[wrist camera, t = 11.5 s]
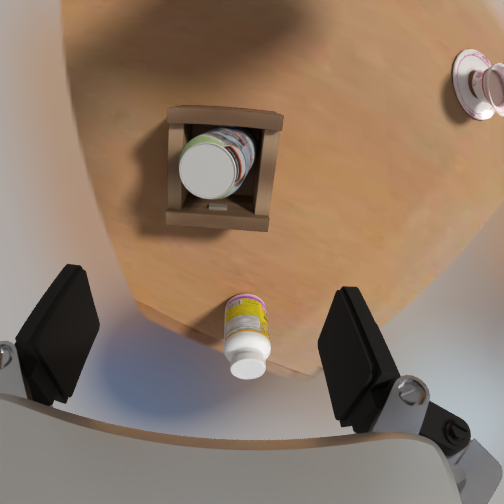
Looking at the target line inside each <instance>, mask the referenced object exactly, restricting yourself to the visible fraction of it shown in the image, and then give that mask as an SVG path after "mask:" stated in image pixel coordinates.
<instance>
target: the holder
mask: <svg viewBox="0 0 504 504" xmlns="http://www.w3.org/2000/svg"><path fill="white" fill-rule="evenodd" d="M283 118H284V116H283V115H281V114H278V113H276V112H273V111H265V110H256V109H245V108H233V107H219V106H197V105H181V106H176V107H171V108H168V111H167V123H169V138H168V180H167V201H168V209H167V210H166V225H176V226H191V227H206V228H220V229H234V230H247V231H260V232H268V226H269V209H270V202H271V195H272V188H273V180H274V173H275V166H276V159H277V151H278V144H279V137H280V131H282V126H283ZM219 126H222V127H235V126H240V127H247V128H248V129H250V130H251V131H252V133H253V134H254V135H255V137H256V139H257V143H258V154H257V157H256V159H255V161H254V163H253V165H252V166H251V168H250V170H249V172H248V173H247V175H246V177H245V179H244V180H243V182H242V184H241V186H240V187H239V188H238V189H237V190H236V191H235V192H234V193H233V194H231V195H229V196H227V197H225V198H222V199H205V198H201V197H198V196H196V195H194V194H192V193H191V192H190V191H189V190H188V189H187V188H186V187H185V186H184V184H183V182H182V180H181V178H180V173H179V159H180V155H181V152H182V150H183V149H184V147H185V146H186V144H187V143H188V142H189V141H190V140H192V139H193V138H195V137H197V136H199V135H201V134H203V133H205V132H207V131H210V130H212V129H214V128H216V127H219Z"/></svg>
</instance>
